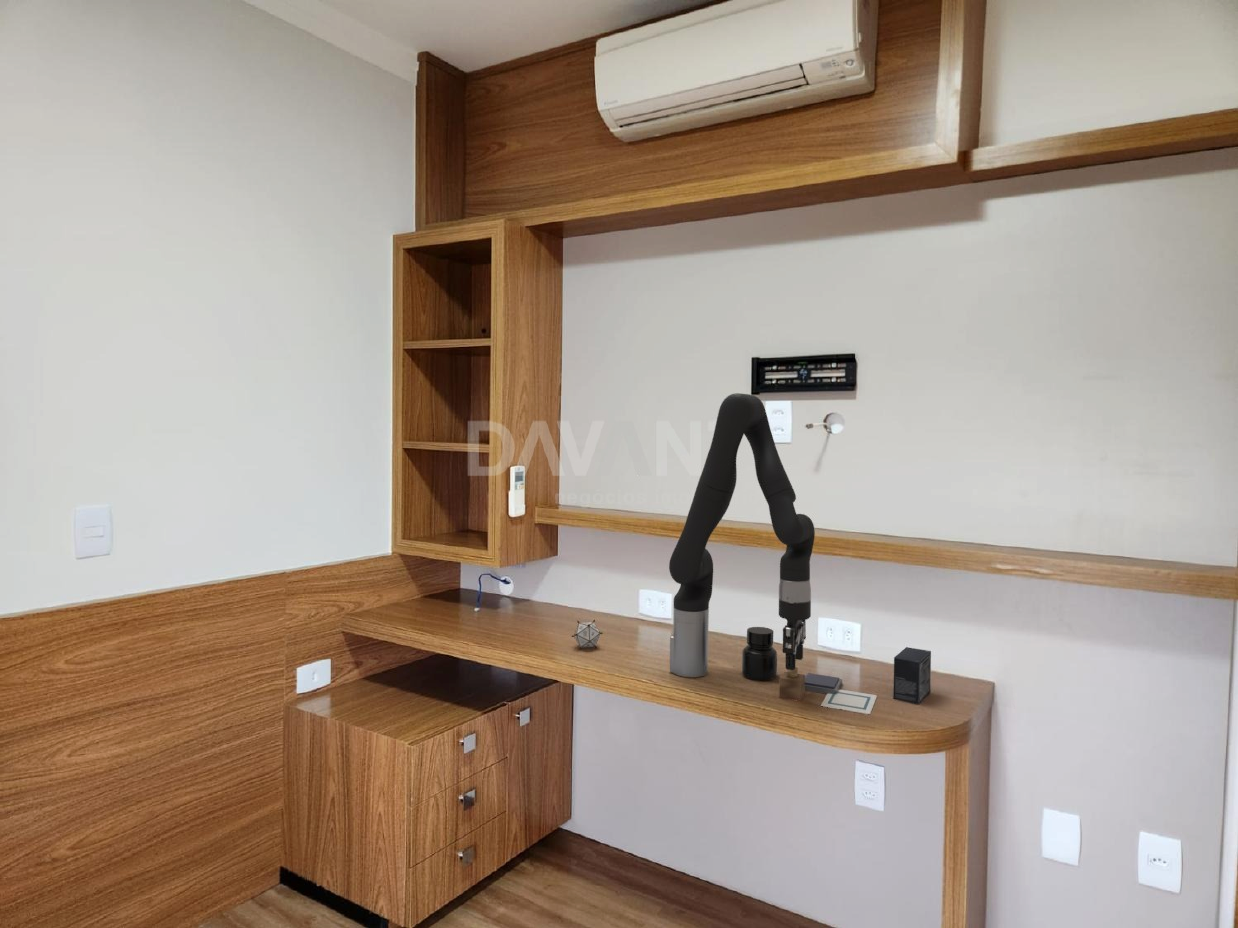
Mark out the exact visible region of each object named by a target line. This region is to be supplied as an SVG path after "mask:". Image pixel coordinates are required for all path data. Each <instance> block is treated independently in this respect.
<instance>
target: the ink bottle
mask: <svg viewBox="0 0 1238 928" xmlns="http://www.w3.org/2000/svg"><path fill="white" fill-rule="evenodd" d="M746 644H747V645H746V646H744V647H743V650H742V655H741V656H742V657H741V658H742V660H741V666H742V667H741V674H742V675H743V676H744V677H745V678H747V679H751V680H754V681H769V680H772V679H775V678H776V677H777V674H778V652H777V649H775V648H774V647H773V646H774V630H773V629H772V628H769V627H763V626H752V627H748V628H747V630H746Z"/></svg>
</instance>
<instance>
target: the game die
mask: <svg viewBox="0 0 1238 928" xmlns="http://www.w3.org/2000/svg"><path fill="white" fill-rule="evenodd" d="M576 621H577V622H576V623H577V627H576V628H575V632H574V634H572V635H571V637H572V638H574V639H575V641H576V642H577V644H578V646H579V647H578V650H579V651H580V650H581V649H582V648H583V649H584V648H594V649H598V648H597V643H598V641H599V638H600V635H603V634H604V633H603V632H602V631H600V630H599V628H598V626H597V625H596V623H595V622H596V619H594V620H593V621H590V622H589V621H588V622H587V621H585V622H580V620H576Z"/></svg>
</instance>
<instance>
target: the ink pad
mask: <svg viewBox="0 0 1238 928" xmlns="http://www.w3.org/2000/svg"><path fill="white" fill-rule="evenodd" d="M804 675H805V691H806V690H807V692H813V693H819V692H820V693H821V694H825V695H827V694H828V693H830V694H837V692H838V690H839V689H840V690H841V687H842V686H843V679H842V678H840V677H837V676H831V675H825V674H824V675H823V674H817V673H812V672H810V673H809V672H808V673H806V674H804Z"/></svg>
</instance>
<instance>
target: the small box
mask: <svg viewBox="0 0 1238 928" xmlns="http://www.w3.org/2000/svg"><path fill="white" fill-rule="evenodd" d="M931 664H932V651H931V650H928V649H920V648H913V647H908V646H906V647H905V648H904V649H902V650H901V651H900V652H899V653H897V654H896V655H894V657H893V689H892V691H893V692H892V699H894V700H895V701H896V700H897V701H900V702H906V703H911V704H914V705H920V704H921V703H922V702H924V700H925V699H926V697H928V696H929V694H931V687H932V686H931V675H932V674H931V670H932V665H931Z"/></svg>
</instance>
